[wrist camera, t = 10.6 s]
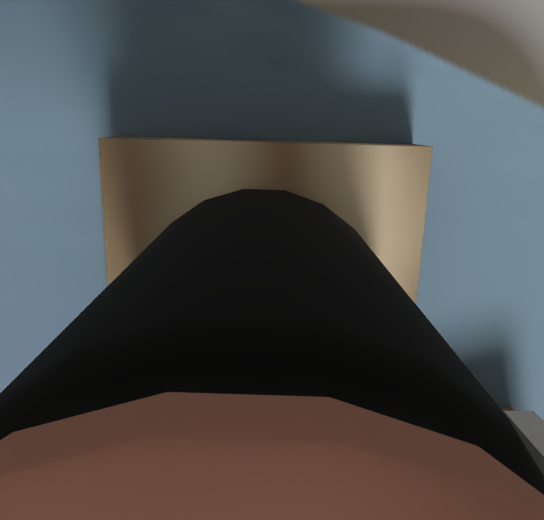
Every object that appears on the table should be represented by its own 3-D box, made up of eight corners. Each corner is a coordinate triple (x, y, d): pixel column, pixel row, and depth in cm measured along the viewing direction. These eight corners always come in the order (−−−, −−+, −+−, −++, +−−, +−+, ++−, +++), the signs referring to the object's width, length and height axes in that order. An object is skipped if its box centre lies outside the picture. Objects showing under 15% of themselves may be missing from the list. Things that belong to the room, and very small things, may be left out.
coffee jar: (256, 446, 25) (224, 1188, 8) (94, 296, 23) (-464, 843, 5) (426, 307, 23) (903, 868, 6) (266, 130, 21) (251, 162, 4)
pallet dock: (132, 400, 28) (116, 432, 25) (119, 136, 24) (98, 137, 21) (388, 405, 28) (401, 438, 25) (413, 143, 24) (432, 146, 21)
